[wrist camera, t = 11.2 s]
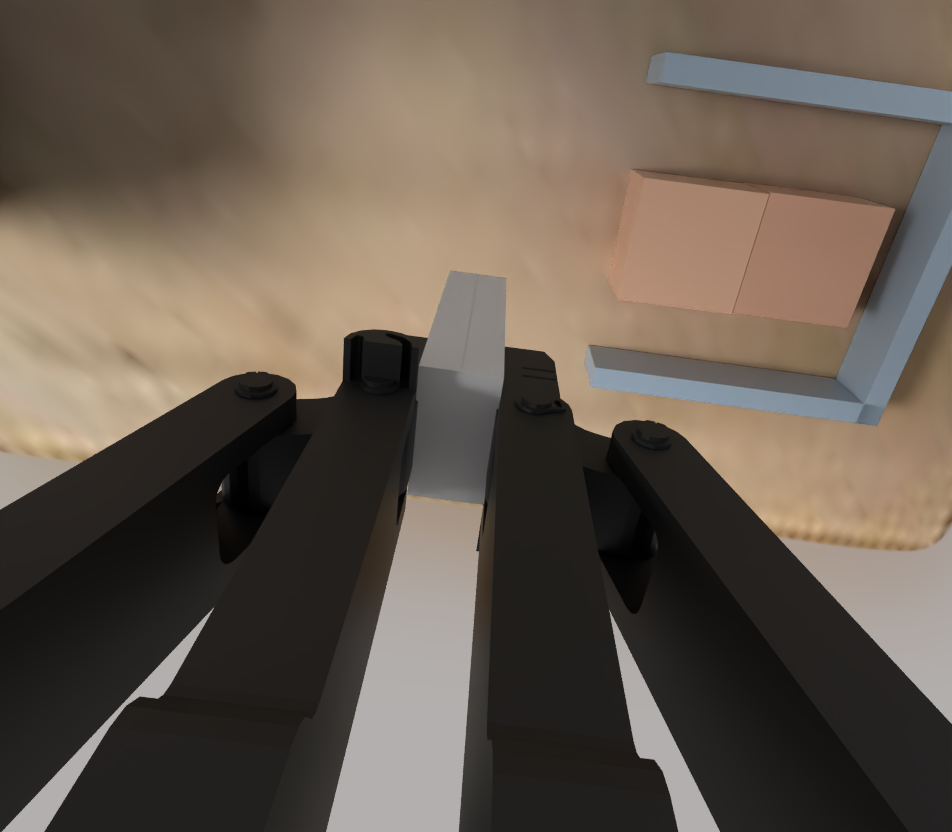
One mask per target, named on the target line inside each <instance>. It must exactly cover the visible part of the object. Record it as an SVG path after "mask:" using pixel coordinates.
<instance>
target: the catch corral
mask: <svg viewBox="0 0 952 832" xmlns="http://www.w3.org/2000/svg"><path fill="white" fill-rule="evenodd" d="M646 83H647V84H654V85H661V86H668V87H676V88H683V89H690V90H697V91H704V92H712V93H719V94H726V95H733V96H740V97H747V98H755V99H762V100H769V101H776V102H783V103H791V104H798V105H805V106H812V107H819V108H827V109H834V110H841V111H848V112H855V113H863V114H870V115H877V116H884V117H891V118H898V119H906V120H913V121H920V122H927V123H934V124H942V126H941V128H940V130H939V133H938V135H937V138H936V140H935V142H934V145H933V147H932V150H931V152H930V154H929V157H928V159H927V161H926V164H925V166H924V169H923V171H922V173H921V176H920V178H919V181H918V183H917V185H916V188H915V190H914V193H913V195H912V197H911V200H910V202H909V205H908V207H907V209H906V212H905V214H904V217H903V219H902V221H901V224H900V226H899V229H898V231H897V233H896V236H895V238H894V241H893V243H892V245H891V248H890V250H889V253H888V255H887V257H886V260H885V262H884V264H883V267H882V269H881V272H880V274H879V276H878V279H877V281H876V284H875V286H874V288H873V291H872V293H871V296H870V298H869V300H868V303H867V305H866V308H865V310H864V312H863V315H862V317H861V320H860V322H859V324H858V327H857V329H856V332H855V334H854V336H853V339H852V341H851V344H850V346H849V348H848V351H847V353H846V355H845V358H844V360H843V363H842V365H841V367H840V370H839V372H838V375H837V377H836V379H834V378H827V377H820V376H812V375H805V374H798V373H790V372H783V371H776V370H768V369H761V368H754V367H746V366H739V365H732V364H724V363H717V362H710V361H702V360H695V359H688V358H680V357H673V356H666V355H658V354H651V353H644V352H636V351H629V350H622V349H614V348H607V347H600V346H592V345H589V346H588V350H587V355H586V359H585V367H586V371H587V375H588V379H589V383H590V386H591V387H594V388H601V389H609V390H616V391H623V392H631V393H638V394H645V395H653V396H660V397H667V398H675V399H682V400H690V401H697V402H704V403H712V404H719V405H726V406H734V407H741V408H748V409H756V410H763V411H770V412H778V413H785V414H792V415H800V416H807V417H815V418H822V419H829V420H837V421H844V422H851V423H859V424H866V425H873V426H877V424H878V422H879V420H880V418H881V416H882V414H883V412H884V409H885V407H886V405H887V403H888V401H889V399H890V397H891V395H892V392H893V390H894V388H895V386H896V384H897V382H898V380H899V377H900V375H901V373H902V371H903V369H904V367H905V365H906V362H907V360H908V358H909V356H910V354H911V352H912V350H913V347H914V345H915V343H916V341H917V339H918V337H919V335H920V332H921V330H922V328H923V326H924V324H925V322H926V320H927V317H928V315H929V313H930V311H931V309H932V307H933V305H934V302H935V300H936V298H937V296H938V294H939V292H940V290H941V287H942V285H943V283H944V281H945V279H946V277H947V275H948V272H949V270H950V268H951V266H952V92H951V91H944V90H937V89H930V88H923V87H916V86H908V85H901V84H894V83H887V82H880V81H872V80H865V79H858V78H851V77H844V76H837V75H829V74H822V73H815V72H808V71H801V70H794V69H786V68H779V67H772V66H765V65H758V64H751V63H743V62H736V61H729V60H722V59H715V58H707V57H700V56H693V55H686V54H679V53H672V52H664V53H660V54H657V55H653V56H651V60H650V65H649V70H648V74H647V79H646Z"/></svg>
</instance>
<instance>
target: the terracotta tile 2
mask: <svg viewBox="0 0 952 832" xmlns="http://www.w3.org/2000/svg"><path fill="white" fill-rule="evenodd" d="M744 184H745V185H748V186H750V187H753V188H755V189H758V190H760V191H763V192H765V193H768V194H769V197H768V200H767V203H766V206H765V209H764V213H763V216H762V219H761V222H760V225H759V229H758V232H757V235H756V238H755V241H754V245H753V248H752V251H751V254H750V257H749V261H748V264H747V267H746V270H745V273H744V277H743V280H742V283H741V286H740V289H739V293H738V296H737V299H736V302H735V305H734V309H733V312H732V313H735V314H743V315H750V316H758V317H766V318H773V319H781V320H789V321H796V322H804V323H812V324H819V325H827V326H835V327H842V328H848V325H849V323H850V320H851V318H852V315H853V313H854V310H855V308H856V305H857V303H858V301H859V298H860V296H861V293H862V291H863V288H864V286H865V283H866V281H867V278H868V276H869V273H870V271H871V268H872V266H873V263H874V261H875V258H876V256H877V254H878V251H879V249H880V246H881V244H882V241H883V239H884V236H885V234H886V231H887V229H888V226H889V224H890V221H891V219H892V216H893V214H894V211H895V208H891V207H888V206H885V205H881V204H878V203H875V202H872V201H868V200H865V199H862V198H859V197H853V196H845V195H838V194H830V193H823V192H815V191H807V190H800V189H792V188H784V187H777V186H769V185H762V184H754V183H746V182H745V183H744Z"/></svg>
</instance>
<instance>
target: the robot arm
mask: <svg viewBox="0 0 952 832" xmlns="http://www.w3.org/2000/svg"><path fill="white" fill-rule="evenodd" d="M505 309H506V278H503V277H495V276H488V275H480V274H473V273H465V272H458V271H451V270H450V273H449V276H448V279H447V282H446V285H445V288H444V291H443V294H442V297H441V300H440V303H439V306H438V309H437V312H436V315H435V318H434V321H433V324H432V327H431V331H430V334H429V337H428V338H424V337H416V336H409V335H405V334H402V333H398V332H393V331H388V330H362V331H358V332H354V333H351V334H349V335H348V336H346V337H345V338H344V355H343V381H342V383H341V385H340V387H339V389H338V390H337V392H336V394H335V396H333V397H328V398H319V399H296V385H295V384H294V383H293V382H291V381H290V380H289V379H287V378H284V377H281V376H279V375H274V374H268V373H267V372H258V373H256V372H247V373H245V374H241V375H235V376H232V377H229V378H227V379H224V380H222V381H220V382H219V383H217V384H215V385H214V386H212V387H210V388H208V389H207V390H205V391H203V392H202V393H200V394H198V395H196V396H195V397H193V398H191V399H190V400H188V401H186V402H184V403H183V404H181V405H179V406H178V407H176V408H174V409H172V410H171V411H169V412H167V413H165V414H164V415H162V416H160V417H159V418H157V419H155V420H153V421H152V422H150V423H148V424H147V425H145V426H143V427H141V428H140V429H138V430H136V431H135V432H133V433H131V434H129V435H128V436H126V437H124V438H123V439H121V440H119V441H117V442H116V443H114V444H112V445H111V446H109V447H107V448H105V449H104V450H102V451H100V452H99V453H97V454H95V455H93V456H92V457H90V458H88V459H87V460H85V461H83V462H81V463H80V464H78V465H76V466H75V467H73V468H71V469H69V470H68V471H66V472H64V473H63V474H61V475H59V476H58V477H56V478H54V479H52V480H51V481H49V482H47V483H45V484H44V485H42V486H40V487H38V488H37V489H35V490H33V491H32V492H30V493H28V494H26V495H25V496H23V497H21V498H20V499H18V500H16V501H15V502H13V503H11V504H9V505H8V506H6V507H4V508H2V509H1V510H0V832H2V831H3V830H4V829H5V827H6V826H7V825H8V824H9V823H10V822H11V821H12V820H13V819H14V818H15V817H16V816H17V815H18V814H19V813H20V811H22V810H23V808H24V807H25V806H26V805H27V804H28V803H29V802H30V801H31V800H32V799H33V798H34V797H35V796H36V795H37V794H38V792H40V791H41V789H42V788H43V787H44V786H45V785H46V784H47V783H48V782H49V781H50V780H51V779H52V778H53V777H54V776H55V775H56V774H57V772H58V771H59V770H60V769H61V768H62V767H63V766H64V765H65V764H66V763H67V762H68V761H69V760H70V759H71V758H72V757H73V756H74V755H75V754H76V752H77V751H78V750H79V749H80V748H81V747H82V746H83V745H84V744H85V743H86V742H87V741H88V740H89V738H91V737H92V735H93V734H94V733H95V732H96V731H97V730H98V729H99V728H100V727H101V726H102V725H103V724H104V723H105V721H107V720H108V718H110V716H111V715H112V714H113V713H114V712H115V711H116V710H117V709H118V708H119V707H120V706H121V705H122V703H124V702H125V700H126V699H128V697H129V696H130V695H131V694H132V693H133V692H134V691H135V690H136V689H137V688H138V687H139V686H140V685H141V684H142V683H143V682H144V681H145V679H146V678H147V677H148V676H149V675H150V674H151V673H152V672H153V671H154V670H155V669H156V668H157V667H158V666H159V665H160V664H161V662H162V661H163V660H164V659H165V658H166V657H167V656H168V655H169V654H170V653H171V652H172V651H173V650H174V649H175V648H176V647H177V646H178V645H179V644H180V642H181V641H182V640H183V639H184V638H185V637H186V636H187V635H188V634H189V633H190V632H191V631H192V630H193V629H194V628H195V627H196V626H197V624H198V623H199V622H200V621H201V620H202V619H203V618H204V617H205V616H206V615H207V614H208V613H209V612H210V611H211V610H212V609H213V608H214V609H213V611H212V613H211V614H210V616H209V618H208V620H207V622H206V623H205V625H204V627H203V629H202V630H201V632H200V634H199V636H198V637H197V639H196V641H195V643H194V644H193V646H192V648H191V650H190V651H189V653H188V655H187V657H186V658H185V660H184V662H183V664H182V666H181V667H180V669H179V671H178V673H177V674H176V676H175V678H174V680H173V681H172V683H171V685H170V686H169V688H168V689H167V691H166V692H165V693H164V695H163V696H161V697H160V698H158V699H155V698H147V697H139V698H137V699H136V700H134V701H133V702H131V703H130V704H128V705H127V706H126V707H125V708H124V709H123V711H122V712H121V713H120V714H119V716H118V717H117V719H116V720H115V721H114V722H113V724H112V725H111V726H110V728H109V729H108V731H107V733H106V734H105V736H104V737H103V739H102V740H101V742H100V744H99V745H98V747H97V749H96V750H95V752H94V753H93V755H92V757H91V758H90V760H89V761H88V763H87V765H86V766H85V768H84V769H83V771H82V773H81V774H80V776H79V777H78V779H77V780H76V782H75V784H74V785H73V787H72V789H71V790H70V792H69V793H68V795H67V797H66V798H65V800H64V801H63V803H62V805H61V806H60V808H59V809H58V811H57V813H56V814H55V816H54V817H53V819H52V821H51V822H50V824H49V825H48V827H47V829H46V830H45V832H326V829H327V825H328V821H329V817H330V813H331V808H332V805H333V801H334V797H335V792H336V789H337V784H338V780H339V776H340V772H341V768H342V764H343V760H344V756H345V752H346V748H347V744H348V740H349V735H350V731H351V727H352V723H353V719H354V715H355V711H356V707H357V703H358V699H359V695H360V691H361V687H362V683H363V679H364V675H365V670H366V666H367V662H368V658H369V654H370V650H371V646H372V642H373V637H374V634H375V630H376V626H377V622H378V617H379V613H380V609H381V605H382V601H383V597H384V593H385V589H386V585H387V581H388V576H389V573H390V569H391V565H392V560H393V556H394V552H395V548H396V544H397V540H398V536H399V532H400V528H401V524H402V520H403V516H404V512H405V504H406V493H407V485H408V494H407V495H414V496H421V497H429V498H437V499H444V500H452V501H460V502H468V503H475V504H483V512H482V518H481V525H480V531H479V537H478V544H477V550H476V551H479V559H478V573H477V588H476V601H475V615H474V630H473V643H472V657H471V670H470V685H469V699H468V713H467V726H466V741H465V754H464V768H463V783H462V797H461V809H460V824H459V832H678V829H677V824H676V820H675V815H674V811H673V806H672V802H671V797H670V793H669V791H668V787H667V784H666V781H665V778H664V775H663V772H662V770H661V769H660V767H659V766H658V765H657V763H656V762H655V760H652V759H643V758H640V757H639V756H638V754H637V752H636V749H635V745H634V742H633V736H632V731H631V725H630V720H629V714H628V709H627V704H626V698H625V693H624V688H623V682H622V678H621V671H620V666H619V661H618V656H617V650H616V645H615V639H614V634H613V628H612V623H611V618H610V612H611V614H612V616H613V618H614V620H615V622H616V624H617V626H618V628H619V630H620V632H621V634H622V636H623V638H624V640H625V642H626V644H627V646H628V648H629V650H630V652H631V654H632V656H633V658H634V660H635V662H636V664H637V666H638V668H639V670H640V672H641V674H642V676H643V678H644V680H645V682H646V684H647V686H648V688H649V690H650V692H651V694H652V696H653V698H654V700H655V702H656V704H657V706H658V708H659V710H660V712H661V714H662V716H663V718H664V720H665V722H666V724H667V726H668V728H669V730H670V732H671V734H672V736H673V738H674V740H675V742H676V744H677V746H678V748H679V750H680V752H681V754H682V756H683V758H684V760H685V762H686V764H687V766H688V768H689V770H690V772H691V774H692V776H693V778H694V780H695V782H696V784H697V786H698V788H699V790H700V792H701V794H702V796H703V798H704V800H705V802H706V804H707V806H708V808H709V810H710V812H711V814H712V816H713V818H714V820H715V822H716V824H717V826H718V828H719V830H720V832H952V724H951V723H950V722H949V721H948V720H947V719H946V718H945V717H944V715H943V714H942V713H941V712H940V711H939V710H938V709H937V708H936V707H935V706H934V705H933V704H932V702H930V700H929V699H928V698H927V697H926V696H925V695H924V694H923V693H922V692H921V691H920V690H919V689H918V688H917V686H916V685H915V684H914V683H913V682H912V681H911V680H910V679H909V678H908V677H907V676H906V675H905V673H904V672H902V670H901V669H900V668H899V667H898V666H897V665H896V664H895V663H894V662H893V661H892V660H891V658H889V657H888V655H887V654H886V653H885V652H884V651H883V650H882V649H881V648H880V647H879V646H878V645H877V643H876V642H875V641H874V640H873V639H872V638H871V637H870V636H869V635H868V634H867V633H866V632H865V631H864V630H863V629H862V628H861V626H860V625H859V624H858V623H857V622H856V621H855V620H854V619H853V618H852V617H851V616H850V615H849V613H848V612H847V611H846V610H845V609H844V608H843V607H842V606H841V605H840V604H839V603H838V602H837V601H836V599H834V597H833V596H832V595H831V594H830V593H829V592H828V591H827V590H826V589H825V588H824V587H823V585H822V584H821V583H820V582H819V581H818V580H817V579H816V578H815V577H814V576H813V575H812V574H811V573H810V572H809V570H808V569H807V568H806V567H805V566H804V565H803V564H802V563H801V562H800V561H799V560H798V559H797V558H796V556H795V555H794V554H793V553H792V552H791V551H790V550H789V549H788V548H787V547H786V546H785V545H784V544H783V543H782V541H781V540H780V539H779V538H778V537H777V536H776V535H775V534H774V533H773V532H772V531H771V530H770V529H769V527H768V526H767V525H766V524H765V523H764V522H763V521H762V520H761V519H760V518H759V517H758V516H757V515H756V514H755V512H754V511H753V510H752V509H751V508H750V507H749V506H748V505H747V504H746V503H745V502H744V501H743V500H742V498H741V497H740V496H739V495H738V494H737V493H736V492H735V491H734V490H733V489H732V488H731V487H730V486H729V485H728V483H727V482H726V481H725V480H724V479H723V478H722V477H721V476H720V475H719V474H718V473H717V472H716V471H715V470H714V468H713V467H712V466H711V465H710V464H709V463H708V462H707V461H706V460H705V459H704V458H703V457H702V456H701V454H700V453H699V452H698V451H697V450H696V449H695V448H694V447H693V446H692V445H691V444H690V443H689V442H688V441H687V439H685V438H684V437H683V436H682V435H680V434H679V433H678V432H676V431H674V430H672V429H670V428H668V427H666V426H665V425H664V424H661V423H658V422H657V424H656V423H655V422H654V421H649V420H646V421H639V420H632V421H623V422H621V423H619V424H617V425H616V426H615V428H614V430H613V432H612V436H611V438H609V437H605V436H602V435H598V434H595V433H592V432H590V431H587V430H584V429H582V428H580V427H578V426H576V425H575V424H574V419H573V413H572V410H571V408H570V406H569V405H568V404H567V403H566V402H564V401H563V400H562V399H560V393H559V387H558V381H557V375H556V368H555V362H554V361H553V360H552V359H551V358H550V357H549V356H548V355H547V354H546V353H545V352H542V351H534V350H527V349H519V348H511V347H505ZM408 481H409V483H408ZM221 484H222V490H221V491H220V492H219V493H218V494H217V492H218V490H219V487H220V485H221ZM215 605H216V606H215ZM609 610H610V612H609Z"/></svg>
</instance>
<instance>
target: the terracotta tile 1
mask: <svg viewBox="0 0 952 832" xmlns="http://www.w3.org/2000/svg"><path fill="white" fill-rule="evenodd" d="M768 197H769V194H768V193H765V192H763V191H760V190H758V189H755V188H753V187H750V186H748V185H745V184H741V183H733V182H726V181H718V180H711V179H703V178H695V177H688V176H680V175H672V174H665V173H657V172H649V171H642V170H634V169H631V174H630V178H629V183H628V188H627V192H626V197H625V202H624V206H623V211H622V216H621V220H620V225H619V230H618V234H617V239H616V244H615V248H614V253H613V258H612V262H611V267H610V272H609V276H608V282H609V284H610V286H611V288H612V291H613V293H614V295H615V297H616V299H617V300H623V301H631V302H639V303H646V304H654V305H662V306H669V307H677V308H684V309H692V310H700V311H707V312H715V313H723V314H730V315H732V312H733V309H734V305H735V302H736V299H737V296H738V293H739V289H740V286H741V283H742V280H743V277H744V273H745V270H746V267H747V264H748V261H749V257H750V254H751V251H752V248H753V245H754V241H755V238H756V235H757V232H758V229H759V225H760V222H761V219H762V216H763V213H764V209H765V206H766V203H767V200H768Z"/></svg>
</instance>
